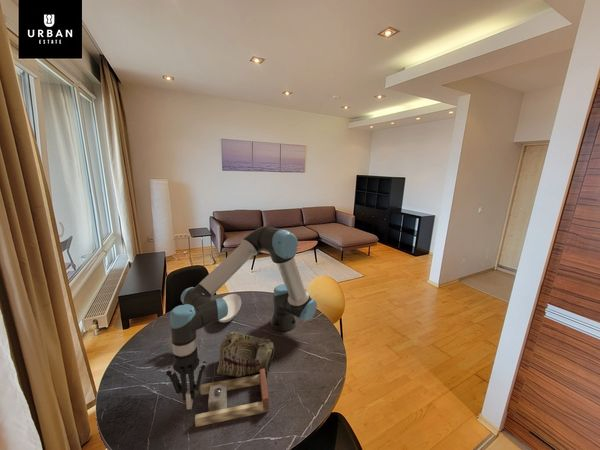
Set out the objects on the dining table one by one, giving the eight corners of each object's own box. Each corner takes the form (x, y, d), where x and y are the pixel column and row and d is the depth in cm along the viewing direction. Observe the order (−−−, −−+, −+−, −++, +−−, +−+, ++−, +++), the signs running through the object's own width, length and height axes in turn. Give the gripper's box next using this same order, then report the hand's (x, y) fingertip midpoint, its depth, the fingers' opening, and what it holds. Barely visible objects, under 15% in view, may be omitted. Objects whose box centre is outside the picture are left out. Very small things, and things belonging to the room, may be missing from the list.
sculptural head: (278, 326, 119) (227, 319, 119) (273, 349, 98) (211, 340, 98) (272, 362, 119) (222, 354, 119) (267, 392, 98) (205, 383, 98)
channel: (264, 380, 103) (264, 368, 102) (268, 411, 90) (268, 397, 88) (201, 392, 97) (200, 379, 96) (195, 427, 84) (194, 412, 82)
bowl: (236, 330, 136) (235, 320, 134) (208, 330, 135) (207, 320, 133) (244, 302, 165) (244, 293, 164) (222, 302, 164) (221, 293, 163)
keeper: (227, 395, 96) (226, 381, 95) (226, 411, 89) (225, 397, 88) (211, 398, 95) (210, 384, 93) (208, 415, 88) (208, 400, 87)
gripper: (206, 339, 89) (209, 393, 94) (167, 344, 86) (172, 400, 91) (203, 354, 82) (207, 411, 87) (161, 360, 79) (167, 419, 84)
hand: (189, 405), depth 89 cm, fingers closed
